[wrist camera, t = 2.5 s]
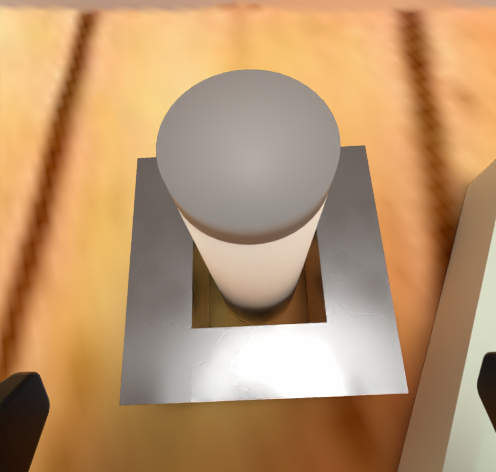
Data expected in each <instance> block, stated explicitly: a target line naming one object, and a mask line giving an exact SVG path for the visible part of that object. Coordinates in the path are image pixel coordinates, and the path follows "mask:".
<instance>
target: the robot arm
mask: <svg viewBox="0 0 496 472" xmlns="http://www.w3.org/2000/svg"><path fill="white" fill-rule="evenodd" d="M477 391H478V394H479V397H480V399H481V401H482V404H483V406H484V408H485V410H486V412H487V415H488V417H489V419H490V421H491V423H492V426H493V428H494V430H495V432H496V352H488V353H486V354H485V355H484V357H483V360H482V364H481V368H480V372H479V376H478V379H477ZM49 408H50V403H49V398H48V395H47V393H46V390H45V387H44V385H43V382H42V379H41V377H40V375H39V374H38V373H37V372H18V373H15V374H13V375H11V376H10V377H8V378H7V379H5V380H4V381H2V382H1V383H0V472H28V471H29V468H30V466H31V463H32V460H33V457H34V454H35V451H36V448H37V445H38V442H39V439H40V436H41V434H42V431H43V428H44V425H45V422H46V419H47V416H48V413H49Z"/></svg>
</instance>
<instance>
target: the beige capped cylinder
mask: <svg viewBox="0 0 496 472" xmlns="http://www.w3.org/2000/svg"><path fill="white" fill-rule="evenodd" d="M340 148H341V147H340V135H339V130H338V126H337V123H336V121H335V118H334V116H333V114H332V113H331V111H330V109H329V107H328V106H327V105H326V103H325V102H324V101H323V100H322V99H321V98H320V97H319V96H318V95H317V94H316V93H315V92H314V91H313V90H311V89H310V88H309V87H308V86H306V85H304V84H303V83H301V82H299V81H297V80H295V79H293V78H291V77H289V76H286V75H283V74H280V73H276V72H271V71H265V70H236V71H231V72H226V73H222V74H219V75H215V76H212V77H210V78H208V79H206V80H203V81H201V82H200V83H198V84H196V85H194V86H193V87H192V88H190V89H189V90H187V91H186V92H185V93H184V94H183V95H182V96H180V97H179V98H178V99H177V100H176V102H175V103H174V104H173V105H172V106H171V108H170V109H169V111H168V112H167V114H166V115H165V117H164V119H163V121H162V124H161V126H160V129H159V132H158V136H157V143H156V157H157V164H158V168H159V171H160V174H161V177H162V179H163V181H164V183H165V184H166V186H167V188H168V190H169V192H170V194H171V196H172V198H173V200H174V202H175V204H176V206H177V208H178V210H179V212H180V214H181V216H182V218H183V220H184V222H185V224H186V226H187V228H188V230H189V232H190V234H191V236H192V238H193V240H194V242H195V244H196V246H197V248H198V250H199V252H200V254H201V256H202V258H203V260H204V262H205V264H206V266H207V267H208V269H209V271H210V273H211V275H212V277H213V279H214V281H215V283H216V285H217V287H218V289H219V291H220V293H221V295H222V297H223V299H224V301H225V303H226V305H227V307H228V309H229V310H230V312H231V313H232V314H233V315H234V316H235V317H237V318H238V319H240V320H241V321H243V322H246V323H249V324H254V325H262V324H267V323H270V322H273V321H275V320H277V319H278V318H279V317H281V316H282V315H283V314H284V313H285V311H286V310H287V309H288V307H289V305H290V303H291V300H292V297H293V294H294V291H295V288H296V286H297V283H298V280H299V277H300V274H301V271H302V268H303V265H304V262H305V259H306V256H307V253H308V251H309V248H310V245H311V242H312V239H313V236H314V233H315V230H316V227H317V224H318V221H319V218H320V216H321V213H322V210H323V207H324V204H325V201H326V198H327V195H328V192H329V189H330V186H331V183H332V181H333V178H334V175H335V172H336V169H337V165H338V161H339V157H340Z"/></svg>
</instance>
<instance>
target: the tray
mask: <svg viewBox="0 0 496 472" xmlns="http://www.w3.org/2000/svg"><path fill="white" fill-rule="evenodd" d="M488 352H496V159H495V160H494V161H493V162H492V163H491V164H490V165H489V166H488V167H487V168H486V169H485V170H484V171H483V172H482V173H481V174H480V175H478V176H477V177H476V178H475V179H474V180H473V181H472V182H471V183H470V184H469V185H468V188H467V192H466V196H465V200H464V204H463V208H462V212H461V216H460V220H459V224H458V228H457V232H456V236H455V240H454V244H453V248H452V252H451V256H450V261H449V265H448V269H447V273H446V277H445V281H444V285H443V289H442V293H441V297H440V301H439V305H438V309H437V313H436V317H435V321H434V325H433V329H432V333H431V338H430V342H429V346H428V350H427V354H426V358H425V362H424V366H423V370H422V374H421V378H420V382H419V386H418V390H417V394H416V398H415V402H414V406H413V410H412V415H411V419H410V423H409V427H408V431H407V435H406V439H405V443H404V447H403V451H402V455H401V459H400V463H399V467H398V471H397V472H496V432H495V430H494V428H493V426H492V423H491V421H490V419H489V417H488V415H487V412H486V410H485V408H484V406H483V404H482V401H481V399H480V397H479V394H478V391H477V379H478V376H479V372H480V368H481V364H482V360H483V357H484V355H485V354H486V353H488Z"/></svg>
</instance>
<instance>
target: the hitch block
mask: <svg viewBox="0 0 496 472" xmlns="http://www.w3.org/2000/svg"><path fill="white" fill-rule="evenodd" d="M304 267H305V277H306V288H307V298H308V308H309V319H310V323H307V324H285V325H263V326H242V327H220V328H210V271H209V269H208V267H207V266H206V264H205V262H204V260H203V258H202V256H201V254H200V252H199V250H198V248H197V246H196V244H195V242H194V240H193V238H192V236H191V234H190V232H189V230H188V228H187V226H186V224H185V222H184V220H183V218H182V216H181V214H180V212H179V210H178V208H177V206H176V204H175V202H174V200H173V198H172V196H171V194H170V192H169V190H168V188H167V186H166V184H165V183H164V181H163V179H162V177H161V174H160V171H159V168H158V164H157V157H153V158H138V160H137V174H136V188H135V201H134V215H133V228H132V242H131V256H130V269H129V283H128V297H127V310H126V324H125V337H124V351H123V365H122V378H121V392H120V405H140V404H163V403H187V402H211V401H235V400H259V399H283V398H307V397H330V396H354V395H378V394H402V393H409V392H408V387H407V381H406V375H405V370H404V364H403V358H402V353H401V347H400V341H399V336H398V330H397V324H396V319H395V313H394V307H393V302H392V296H391V290H390V285H389V279H388V273H387V268H386V262H385V256H384V251H383V245H382V239H381V234H380V228H379V222H378V217H377V211H376V205H375V200H374V194H373V188H372V183H371V177H370V172H369V166H368V160H367V155H366V149H365V145H364V146H346V147H341V148H340V157H339V161H338V165H337V169H336V172H335V175H334V178H333V181H332V183H331V186H330V189H329V192H328V195H327V198H326V201H325V204H324V207H323V210H322V213H321V216H320V218H319V221H318V224H317V227H316V230H315V233H314V236H313V239H312V242H311V245H310V248H309V251H308V253H307V256H306V259H305V262H304Z"/></svg>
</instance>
